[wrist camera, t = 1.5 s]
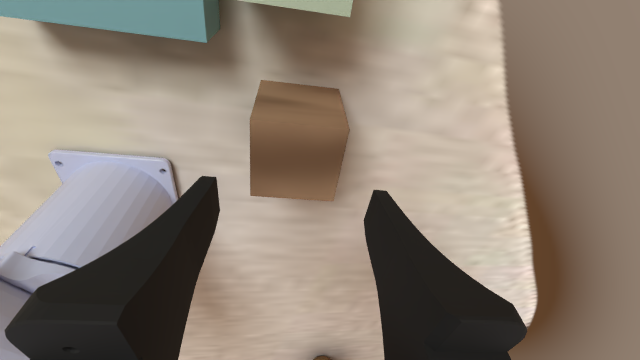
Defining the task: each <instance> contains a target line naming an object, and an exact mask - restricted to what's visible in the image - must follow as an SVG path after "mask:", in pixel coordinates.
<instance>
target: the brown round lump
mask: <svg viewBox="0 0 640 360" xmlns="http://www.w3.org/2000/svg"><path fill="white" fill-rule="evenodd" d="M314 360H331V359H330V358H328V357H325V356H319V357H316V358H315V359H314Z"/></svg>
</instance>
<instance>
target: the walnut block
mask: <svg viewBox="0 0 640 360" xmlns="http://www.w3.org/2000/svg"><path fill="white" fill-rule="evenodd" d="M349 130H350V129H349V125H348V122H347V118H346V114H345V111H344V107H343V104H342V100H341V96H340V93H339V89H334V88H325V87H317V86H308V85H300V84H291V83H283V82H274V81H266V80H261V82H260V86H259V89H258V93H257V96H256V100H255V103H254V107H253V110H252V114H251V117H250V194H251V196H262V197H277V198H292V199H307V200H322V201H333V200H334V196H335V192H336V187H337V183H338V178H339V174H340V170H341V165H342V161H343V156H344V152H345V147H346V143H347V139H348V134H349Z"/></svg>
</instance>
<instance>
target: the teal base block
mask: <svg viewBox="0 0 640 360" xmlns="http://www.w3.org/2000/svg"><path fill="white" fill-rule="evenodd" d="M0 16H4V17H12V18H20V19H27V20H35V21H43V22H50V23H58V24H66V25H74V26H81V27H89V28H97V29H104V30H112V31H120V32H127V33H135V34H143V35H151V36H158V37H166V38H174V39H181V40H189V41H197V42H205V43H207V42H208V41H209V40H210V39H211V38H212V37H213V36H214V35H215V34H216V33H217V32H218V31H219V30H220V17H219V2H218V0H0Z"/></svg>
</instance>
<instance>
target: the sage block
mask: <svg viewBox="0 0 640 360" xmlns="http://www.w3.org/2000/svg"><path fill="white" fill-rule="evenodd" d="M239 1H246V2H253V3H259V4H266V5H273V6H279V7H286V8H293V9H299V10H306V11H313V12H319V13H326V14H333V15H339V16H346V17H350V15H351V9H352V4H353V0H239Z"/></svg>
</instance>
